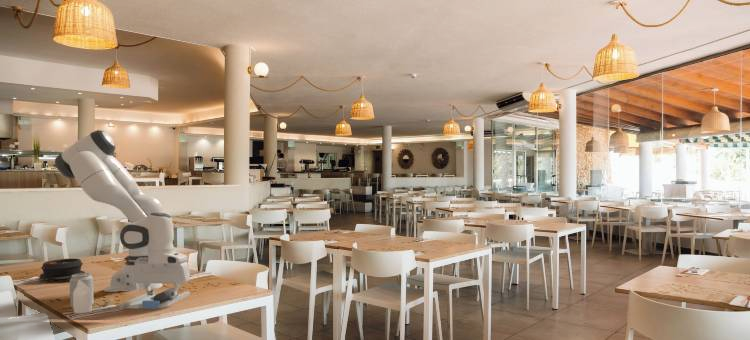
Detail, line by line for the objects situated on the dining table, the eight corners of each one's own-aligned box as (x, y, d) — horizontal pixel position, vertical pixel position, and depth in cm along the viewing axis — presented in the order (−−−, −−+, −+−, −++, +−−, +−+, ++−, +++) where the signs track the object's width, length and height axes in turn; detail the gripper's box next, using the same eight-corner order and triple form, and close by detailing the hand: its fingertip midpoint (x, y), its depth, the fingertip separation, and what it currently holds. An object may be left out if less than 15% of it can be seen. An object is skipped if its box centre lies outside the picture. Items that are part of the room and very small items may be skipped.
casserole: (29, 279, 243) (28, 262, 243) (71, 272, 258) (71, 256, 258) (52, 285, 228) (52, 266, 228) (95, 277, 243) (95, 260, 243)
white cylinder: (95, 278, 180) (80, 281, 175) (96, 312, 180) (81, 316, 175) (82, 277, 182) (68, 280, 177) (83, 311, 182) (69, 315, 177)
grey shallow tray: (119, 310, 181) (119, 301, 181) (151, 296, 201) (150, 288, 201) (162, 311, 179) (161, 301, 179) (189, 297, 199) (189, 288, 199)
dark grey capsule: (158, 307, 183) (166, 300, 183) (151, 299, 184) (159, 291, 183) (172, 300, 193) (180, 293, 193) (166, 292, 194) (173, 285, 193)
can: (76, 304, 192) (75, 272, 192) (97, 303, 192) (96, 271, 192) (66, 310, 184) (65, 276, 184) (88, 309, 185) (87, 275, 185)
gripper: (129, 258, 186) (130, 297, 186) (182, 258, 183) (183, 297, 183) (139, 256, 192) (140, 293, 192) (191, 255, 189) (192, 293, 189)
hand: (162, 295), depth 187 cm, fingers open, 8 cm apart
